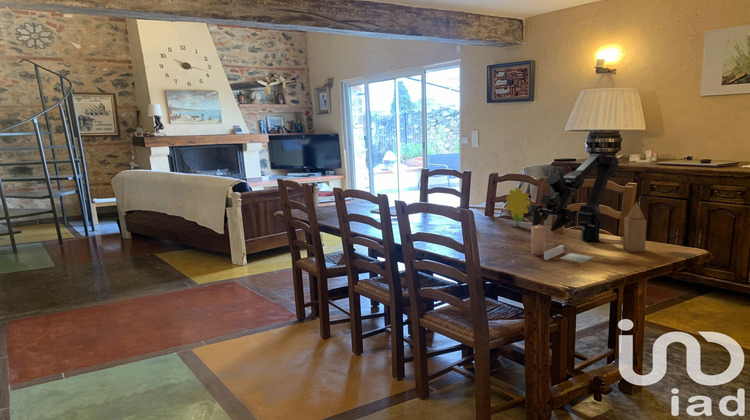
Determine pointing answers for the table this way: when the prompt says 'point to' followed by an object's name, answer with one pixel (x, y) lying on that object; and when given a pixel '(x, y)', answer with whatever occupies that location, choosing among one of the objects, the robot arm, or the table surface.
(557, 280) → the table surface
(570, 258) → the tile
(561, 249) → the low wall
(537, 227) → the tan round cylinder
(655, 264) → the table surface
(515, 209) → the decorative item
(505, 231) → the table surface
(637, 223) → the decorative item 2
